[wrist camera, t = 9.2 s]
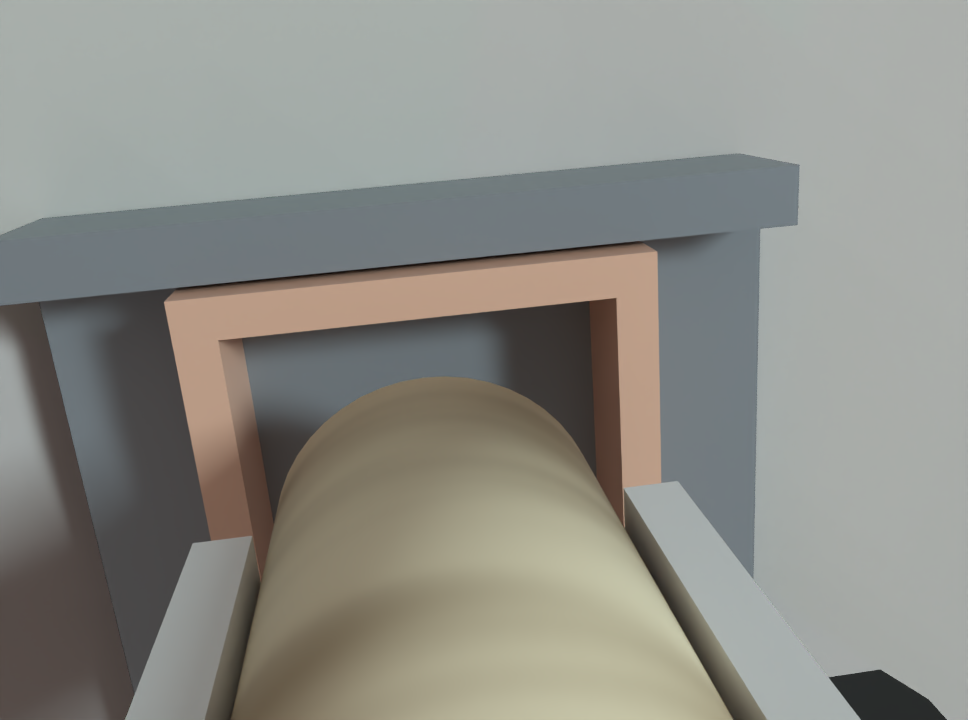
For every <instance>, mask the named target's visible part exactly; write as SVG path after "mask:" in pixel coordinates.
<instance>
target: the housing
mask: <svg viewBox="0 0 968 720" xmlns="http://www.w3.org/2000/svg"><path fill="white" fill-rule="evenodd" d="M798 193H799V165H797V164H792V163H787V162H782V161H776V160H771V159H766V158H761V157H755V156H750V155H745V154H729V155H719V156H708V157H697V158H686V159H676V160H665V161H654V162H643V163H633V164H622V165H611V166H600V167H590V168H579V169H568V170H557V171H547V172H536V173H525V174H514V175H504V176H493V177H482V178H471V179H461V180H450V181H439V182H428V183H418V184H407V185H396V186H385V187H375V188H364V189H353V190H342V191H332V192H321V193H310V194H299V195H289V196H278V197H267V198H256V199H246V200H235V201H224V202H213V203H203V204H192V205H181V206H170V207H160V208H149V209H138V210H127V211H117V212H106V213H95V214H84V215H74V216H63V217H52V218H42V219H39V220H37V221H35V222H32V223H30V224H27V225H25V226H22V227H20V228H17V229H15V230H12V231H10V232H7V233H5V234H2V235H0V306H1V305H11V304H21V303H31V302H39V304H40V308H41V312H42V316H43V320H44V324H45V329H46V333H47V337H48V341H49V345H50V349H51V353H52V357H53V361H54V366H55V370H56V374H57V378H58V382H59V386H60V390H61V394H62V399H63V403H64V407H65V411H66V415H67V419H68V423H69V427H70V431H71V436H72V440H73V444H74V448H75V452H76V456H77V460H78V464H79V469H80V473H81V477H82V481H83V485H84V489H85V493H86V497H87V501H88V506H89V510H90V514H91V518H92V522H93V526H94V530H95V534H96V539H97V543H98V547H99V551H100V555H101V559H102V563H103V567H104V571H105V576H106V580H107V584H108V588H109V592H110V596H111V600H112V604H113V609H114V613H115V617H116V621H117V625H118V629H119V633H120V637H121V641H122V646H123V650H124V654H125V658H126V662H127V666H128V670H129V674H130V679H131V683H132V687H133V691H134V695H135V692H136V690H137V687H138V685H139V682H140V679H141V677H142V674H143V672H144V669H145V666H146V664H147V661H148V659H149V656H150V653H151V651H152V648H153V645H154V643H155V640H156V638H157V635H158V632H159V630H160V627H161V625H162V622H163V619H164V617H165V614H166V612H167V609H168V606H169V604H170V601H171V599H172V596H173V593H174V591H175V588H176V586H177V583H178V580H179V578H180V575H181V573H182V570H183V567H184V565H185V562H186V560H187V557H188V554H189V552H190V549H191V546H192V544H193V543H199V542H207V541H214V540H222V539H230V538H238V537H245V536H252V537H253V542H254V548H255V553H256V559H257V564H258V570H259V575H260V581H261V580H262V576H263V571H264V567H265V562H266V558H267V553H268V549H269V544H270V540H271V535H272V531H273V526H274V522H275V517H276V512H277V508H278V503H279V499H280V494H281V491H282V488H283V485H284V482H285V480H286V477H287V474H288V472H289V470H290V468H291V466H292V464H293V463H294V461H295V459H296V457H297V455H298V454H299V452H300V451H301V449H302V448H303V447H304V445H305V444H306V443H307V441H308V440H309V438H310V437H311V436H312V435H313V434H314V433H315V432H316V431H317V430H318V429H319V428H320V427H321V426H322V425H323V424H324V423H325V422H326V421H327V420H328V419H330V418H331V417H332V416H333V415H334V414H336V413H337V412H338V411H339V410H341V409H342V408H344V407H345V406H347V405H349V404H350V403H352V402H353V401H355V400H357V399H358V398H360V397H362V396H364V395H367V394H369V393H371V392H373V391H375V390H377V389H380V388H383V387H386V386H389V385H392V384H395V383H399V382H402V381H408V380H413V379H419V378H426V377H444V376H447V377H462V378H471V379H476V380H481V381H486V382H490V383H493V384H496V385H499V386H502V387H505V388H508V389H510V390H512V391H514V392H516V393H518V394H521V395H523V396H525V397H527V398H528V399H530V400H531V401H533V402H534V403H536V404H537V405H539V406H540V407H542V408H543V409H545V410H546V411H547V412H548V413H549V414H550V415H552V416H553V417H554V418H555V419H556V420H557V421H558V422H559V423H560V424H561V425H562V426H563V427H564V429H565V430H566V431H567V432H568V433H569V434H570V436H571V437H572V438H573V440H574V441H575V443H576V445H577V446H578V448H579V449H580V451H581V453H582V454H583V456H584V458H585V459H586V461H587V463H588V465H589V466H590V468H591V470H592V472H593V474H594V475H595V477H596V479H597V481H598V482H599V484H600V486H601V488H602V489H603V491H604V493H605V495H606V496H607V498H608V500H609V502H610V503H611V505H612V507H613V509H614V510H615V512H616V514H617V516H618V517H619V519H620V521H621V523H622V524H623V526H624V528H625V520H624V488H627V487H635V486H643V485H650V484H658V483H666V482H674V481H678V482H679V483H680V484H681V486H682V487H683V488H684V490H685V491H686V492H687V494H688V495H689V496H690V497H691V499H692V500H693V501H694V503H695V504H696V505H697V507H698V508H699V509H700V511H701V512H702V513H703V514H704V516H705V517H706V518H707V520H708V521H709V522H710V524H711V525H712V526H713V527H714V529H715V530H716V531H717V533H718V534H719V535H720V537H721V538H722V539H723V541H724V542H725V543H726V544H727V546H728V547H729V548H730V550H731V551H732V552H733V554H734V555H735V556H736V558H737V559H738V560H739V561H740V563H741V564H742V565H743V567H744V568H745V569H746V571H747V572H748V573H749V574H750V576H751V577H752V578H753V569H754V518H755V466H756V415H757V363H758V312H759V260H760V229H762V228H772V227H782V226H792V225H797V224H798Z"/></svg>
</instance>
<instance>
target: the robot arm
mask: <svg viewBox="0 0 968 720" xmlns="http://www.w3.org/2000/svg"><path fill="white" fill-rule="evenodd" d="M624 520H625V530H626V531H627V533H628V535H629V537H630V538H631V540H632V542H633V544H634V545H635V547H636V549H637V551H638V552H639V554H640V556H641V558H642V559H643V561H644V563H645V565H646V566H647V568H648V570H649V572H650V573H651V575H652V577H653V579H654V580H655V582H656V584H657V586H658V587H659V589H660V591H661V593H662V595H663V596H664V598H665V600H666V602H667V603H668V605H669V607H670V609H671V610H672V612H673V614H674V616H675V617H676V619H677V621H678V623H679V624H680V626H681V628H682V630H683V631H684V633H685V635H686V637H687V638H688V640H689V642H690V644H691V645H692V647H693V649H694V651H695V652H696V654H697V656H698V658H699V659H700V661H701V663H702V665H703V666H704V668H705V670H706V672H707V673H708V675H709V677H710V679H711V680H712V682H713V684H714V686H715V687H716V689H717V691H718V693H719V694H720V696H721V698H722V700H723V701H724V703H725V705H726V707H727V708H728V710H729V712H730V714H731V715H732V717H733V719H734V720H947V719H946V718H945V717H944V716H943V715H942V714H941V713H940V712H939V711H938V709H937V708H936V707H935V706H934V705H933V704H932V703H931V702H930V701H929V700H928V699H927V698H925V697H924V696H922V695H920V694H919V693H917V692H916V691H914V690H912V689H911V688H909V687H908V686H906V685H904V684H903V683H901V682H900V681H898V680H896V679H895V678H893V677H891V676H890V675H888V674H887V673H885V672H883V671H882V670H874V671H868V672H861V673H855V674H848V675H842V676H835V677H828V676H827V675H826V674H825V672H824V671H823V670H822V668H821V667H820V666H819V665H818V663H817V662H816V661H815V659H814V658H813V657H812V655H811V654H810V653H809V651H808V650H807V649H806V648H805V646H804V645H803V644H802V642H801V641H800V640H799V638H798V637H797V636H796V635H795V633H794V632H793V631H792V629H791V628H790V627H789V625H788V624H787V623H786V621H785V620H784V619H783V618H782V616H781V615H780V614H779V612H778V611H777V610H776V608H775V607H774V606H773V604H772V603H771V602H770V601H769V599H768V598H767V597H766V595H765V594H764V593H763V591H762V590H761V589H760V588H759V586H758V585H757V584H756V582H755V581H754V580H753V578H752V577H751V576H750V574H749V573H748V572H747V571H746V569H745V568H744V567H743V565H742V564H741V563H740V561H739V560H738V559H737V558H736V556H735V555H734V554H733V552H732V551H731V550H730V548H729V547H728V546H727V544H726V543H725V542H724V541H723V539H722V538H721V537H720V535H719V534H718V533H717V531H716V530H715V529H714V527H713V526H712V525H711V524H710V522H709V521H708V520H707V518H706V517H705V516H704V514H703V513H702V512H701V511H700V509H699V508H698V507H697V505H696V504H695V503H694V501H693V500H692V499H691V497H690V496H689V495H688V494H687V492H686V491H685V490H684V488H683V487H682V486H681V484H680V483H679V482H678V481H674V482H666V483H658V484H650V485H643V486H635V487H627V488H624ZM260 585H261V581H260V575H259V570H258V564H257V559H256V553H255V548H254V542H253V537H252V536H245V537H238V538H230V539H222V540H214V541H207V542H199V543H193V544H192V546H191V549H190V552H189V554H188V557H187V560H186V562H185V565H184V567H183V570H182V573H181V575H180V578H179V580H178V583H177V586H176V588H175V591H174V593H173V596H172V599H171V601H170V604H169V606H168V609H167V612H166V614H165V617H164V619H163V622H162V625H161V627H160V630H159V632H158V635H157V638H156V640H155V643H154V645H153V648H152V651H151V653H150V656H149V659H148V661H147V664H146V666H145V669H144V672H143V674H142V677H141V679H140V682H139V685H138V687H137V690H136V692H135V695H134V698H133V700H132V703H131V705H130V708H129V711H128V713H127V716H126V718H125V720H231V716H232V711H233V707H234V702H235V698H236V693H237V689H238V684H239V680H240V675H241V671H242V666H243V662H244V657H245V653H246V648H247V644H248V639H249V634H250V630H251V625H252V621H253V616H254V612H255V607H256V603H257V598H258V594H259V589H260Z"/></svg>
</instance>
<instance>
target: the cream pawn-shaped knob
mask: <svg viewBox="0 0 968 720" xmlns="http://www.w3.org/2000/svg"><path fill="white" fill-rule="evenodd" d="M231 720H734V719H733V717H732V715H731V714H730V712H729V710H728V708H727V707H726V705H725V703H724V701H723V700H722V698H721V696H720V694H719V693H718V691H717V689H716V687H715V686H714V684H713V682H712V680H711V679H710V677H709V675H708V673H707V672H706V670H705V668H704V666H703V665H702V663H701V661H700V659H699V658H698V656H697V654H696V652H695V651H694V649H693V647H692V645H691V644H690V642H689V640H688V638H687V637H686V635H685V633H684V631H683V630H682V628H681V626H680V624H679V623H678V621H677V619H676V617H675V616H674V614H673V612H672V610H671V609H670V607H669V605H668V603H667V602H666V600H665V598H664V596H663V595H662V593H661V591H660V589H659V587H658V586H657V584H656V582H655V580H654V579H653V577H652V575H651V573H650V572H649V570H648V568H647V566H646V565H645V563H644V561H643V559H642V558H641V556H640V554H639V552H638V551H637V549H636V547H635V545H634V544H633V542H632V540H631V538H630V537H629V535H628V533H627V531H626V530H625V528H624V526H623V524H622V523H621V521H620V519H619V517H618V516H617V514H616V512H615V510H614V509H613V507H612V505H611V503H610V502H609V500H608V498H607V496H606V495H605V493H604V491H603V489H602V488H601V486H600V484H599V482H598V481H597V479H596V477H595V475H594V474H593V472H592V470H591V468H590V466H589V465H588V463H587V461H586V459H585V458H584V456H583V454H582V453H581V451H580V449H579V448H578V446H577V445H576V443H575V441H574V440H573V438H572V437H571V436H570V434H569V433H568V432H567V431H566V430H565V429H564V427H563V426H562V425H561V424H560V423H559V422H558V421H557V420H556V419H555V418H554V417H553V416H552V415H550V414H549V413H548V412H547V411H546V410H545V409H543V408H542V407H540V406H539V405H537V404H536V403H534V402H533V401H531V400H530V399H528V398H527V397H525V396H523V395H521V394H518V393H516V392H514V391H512V390H510V389H508V388H505V387H502V386H499V385H496V384H493V383H490V382H486V381H481V380H476V379H471V378H462V377H447V376H444V377H426V378H419V379H413V380H408V381H402V382H399V383H395V384H392V385H389V386H386V387H383V388H380V389H377V390H375V391H373V392H371V393H369V394H367V395H364V396H362V397H360V398H358V399H357V400H355V401H353V402H352V403H350V404H349V405H347V406H345V407H344V408H342V409H341V410H339V411H338V412H337V413H336V414H334V415H333V416H332V417H331V418H330V419H328V420H327V421H326V422H325V423H324V424H323V425H322V426H321V427H320V428H319V429H318V430H317V431H316V432H315V433H314V434H313V435H312V436H311V437H310V438H309V440H308V441H307V443H306V444H305V445H304V447H303V448H302V449H301V451H300V452H299V454H298V455H297V457H296V459H295V461H294V463H293V464H292V466H291V468H290V470H289V472H288V474H287V477H286V480H285V482H284V485H283V488H282V491H281V494H280V499H279V503H278V508H277V512H276V517H275V522H274V526H273V531H272V535H271V540H270V544H269V549H268V553H267V558H266V562H265V567H264V571H263V576H262V580H261V585H260V589H259V594H258V598H257V603H256V607H255V612H254V616H253V621H252V625H251V630H250V634H249V639H248V644H247V648H246V653H245V657H244V662H243V666H242V671H241V675H240V680H239V684H238V689H237V693H236V698H235V702H234V707H233V711H232V716H231Z"/></svg>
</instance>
